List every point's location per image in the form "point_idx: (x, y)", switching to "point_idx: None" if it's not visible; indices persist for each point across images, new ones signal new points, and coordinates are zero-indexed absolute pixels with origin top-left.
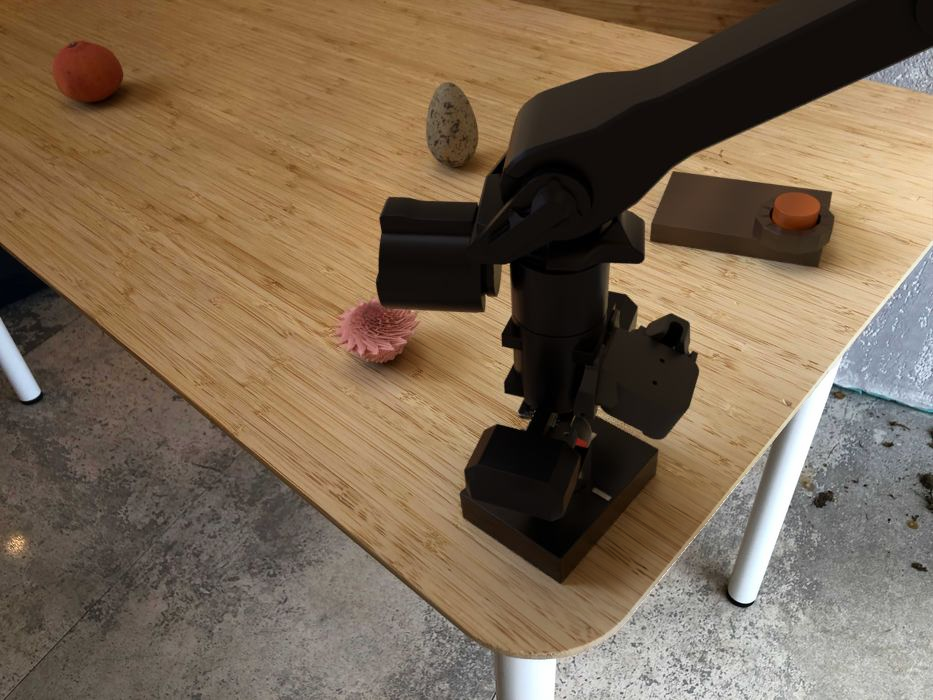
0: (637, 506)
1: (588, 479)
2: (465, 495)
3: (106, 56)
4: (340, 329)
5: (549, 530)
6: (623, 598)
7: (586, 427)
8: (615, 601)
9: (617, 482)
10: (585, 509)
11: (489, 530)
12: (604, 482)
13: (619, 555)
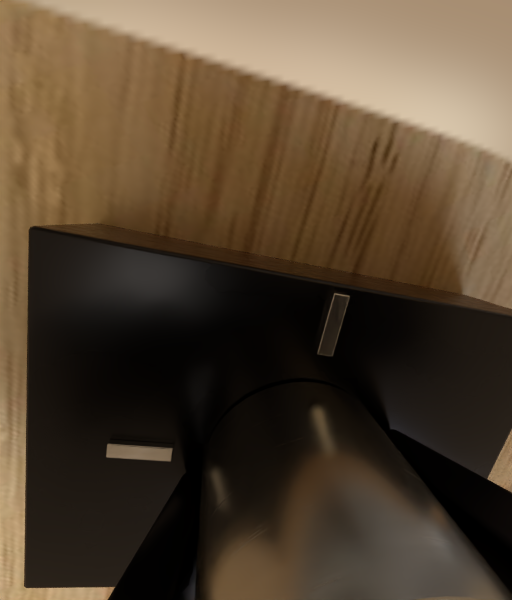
0: (218, 229)
1: (296, 383)
2: None
3: None
4: None
5: (482, 388)
6: (461, 163)
7: None
8: (472, 177)
9: (261, 301)
10: (393, 341)
11: None
12: (279, 337)
13: (363, 214)
